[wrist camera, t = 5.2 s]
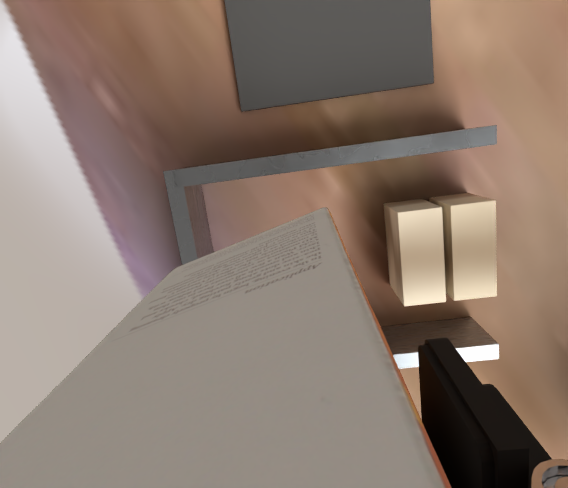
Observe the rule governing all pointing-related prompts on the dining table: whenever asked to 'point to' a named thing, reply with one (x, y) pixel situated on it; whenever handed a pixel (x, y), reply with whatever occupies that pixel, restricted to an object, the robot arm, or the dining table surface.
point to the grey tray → (188, 181)
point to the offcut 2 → (469, 245)
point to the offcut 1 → (415, 251)
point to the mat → (327, 48)
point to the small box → (236, 383)
